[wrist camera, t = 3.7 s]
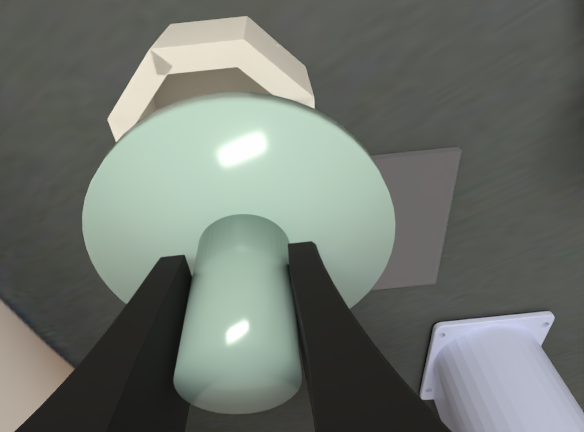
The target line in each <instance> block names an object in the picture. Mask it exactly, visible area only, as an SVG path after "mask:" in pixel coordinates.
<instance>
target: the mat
mask: <svg viewBox="0 0 584 432" xmlns="http://www.w3.org/2000/svg"><path fill="white" fill-rule="evenodd" d="M461 151H462V150H461V149H460V148H459V147H449V148H440V149H430V150H420V151H411V152H401V153H391V154H382V155H372V156H371V157H372V158H373V160H374V161H375V163H376V165H377V167H378V169H379V171H380V174H381V176H382V178H383V180H384V182H385V184H386V186H387V189H388V191H389V193H390V197H391V200H392V204H393V207H394V214H395V224H396V225H395V239H394V244H393V248H392V252H391V255H390V258H389V260H388V263H387V265H386V267H385V269H384V271H383V273H382V274H381V276H380V278H379V279H378V281H377V282H376V283H375V285H374V286H373V287H372V288H371V290H380V289H390V288H400V287H409V286H419V285H429V284H436V279H437V274H438V269H439V264H440V259H441V254H442V249H443V244H444V238H445V233H446V228H447V223H448V218H449V213H450V208H451V202H452V197H453V192H454V187H455V182H456V177H457V172H458V167H459V161H460V156H461ZM371 290H370V291H371Z"/></svg>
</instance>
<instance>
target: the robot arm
mask: <svg viewBox="0 0 584 432" xmlns="http://www.w3.org/2000/svg"><path fill="white" fill-rule="evenodd" d="M288 256H289V268H290V276H291V284H292V292H293V298H294V304H295V310H296V316H297V326H298V336H299V344H300V349H301V355H302V360H303V365H304V371H305V376H306V381H307V386H308V392H309V397H310V402H311V407H312V413H313V418H314V425H315V431H316V432H584V412H583V411H582V409H581V408H580V406H579V405H578V403H577V402H576V400H575V399H574V397H573V395H572V394H571V392H570V391H569V389H568V388H567V386H566V385H565V383H564V382H563V380H562V378H561V377H560V375H559V374H558V372H557V371H556V369H555V368H554V366H553V365H552V363H551V361H550V360H549V358H548V357H547V355H546V354H545V352H544V351H543V349H542V348H541V345H542V343H543V341H544V339H545V337H546V335H547V333H548V331H549V329H550V327H551V325H552V323H553V321H554V318H555V317H554V315H553V314H552V313H551V312H550V311H542V312H533V313H523V314H513V315H503V316H494V317H484V318H474V319H464V320H455V321H445V322H439V323H437V324H435V325H434V327H433V331H432V336H431V341H430V346H429V350H428V355H427V360H426V365H425V369H424V374H423V379H422V384H421V388H420V393H419V394H420V397H421V399H423V400H430V399H434V402H435V404H436V407H437V410H438V413H439V416H440V419H441V420H440V419H439V418H438V417H437V416H436V415H435V413H434V412H433V411H432V410H431V409H430V408H429V407H428V406H427V405H426V404H425V403H424V402H423V401H422V400H421V399H420V398H419V397H418V396H417V395H416V394H415V393H414V391H413V390H412V389H411V388H410V387H409V386H408V385H407V383H406V382H405V381H404V380H403V379H402V378H401V377H400V375H399V374H398V373H397V372H396V371H395V370H394V368H393V367H392V366H391V365H390V363H389V362H388V361H387V360H386V359H385V357H384V356H383V355H382V354H381V352H380V351H379V350H378V348H377V347H376V346H375V345H374V343H373V342H372V341H371V339H370V338H369V337H368V335H367V334H366V332H365V331H364V330H363V328H362V327H361V325H360V324H359V323H358V321H357V320H356V318H355V317H354V315H353V314H352V312H351V311H350V309H349V308H348V306H347V304H346V303H345V301H344V300H343V298H342V296H341V295H340V293H339V291H338V290H337V288H336V286H335V285H334V283H333V281H332V279H331V277H330V275H329V274H328V272H327V270H326V268H325V266H324V264H323V261H322V259H321V257H320V254H319V252H318V249H317V246H316V244H315V243H313V242H312V241H308V242H299V243H289V244H288ZM191 281H192V275H191V272H190V269H189V266H188V263H187V260H186V257H185V255H176V256H166V257H161V258H160V259H159V260H158V261H157V263H156V264H155V265H154V267H153V268H152V270H151V271H150V272H149V274H148V275H147V277H146V278H145V279H144V281H143V282H142V284H141V285H140V287H139V288H138V289H137V291H136V292H135V294H134V295H133V296H132V298H131V299H130V300H129V302H128V303H127V305H126V306H125V307H124V309H123V310H122V311H121V313H120V314H119V315H118V317H117V318H116V319H115V320H114V322H113V323H112V324H111V326H110V327H109V328H108V330H107V331H106V332H105V334H104V335H103V336H102V337H101V338H100V340H99V341H98V342H97V343H96V344H95V346H94V347H93V348H92V349H91V351H90V352H89V353H88V354H87V355H86V357H85V358H84V359H83V360H82V361H81V363H80V364H79V365H78V366H77V367H76V368H75V370H74V371H73V372H72V373H71V374H70V375H69V376H68V377H67V379H66V380H65V381H64V382H63V383H62V384H61V385H60V386H59V387H58V388H57V390H56V391H55V392H54V393H53V394H52V395H51V396H50V397H49V398H48V399H47V400H46V401H45V402H44V403H43V404H42V405H41V406H40V408H38V409H37V410H36V411H35V412H34V413H33V414H32V415H31V416H30V417H29V418H28V419H27V420H26V421H25V422H24V423H23V424H22V425H21V426H20V427H19V428H18V429H17V430H16V431H15V432H185V427H186V422H187V416H188V411H189V405H190V403H189V402H187V401H186V400H184V399H183V398H182V397H181V396H180V395H179V394H178V392H177V391H176V389H175V386H174V380H173V378H174V373H175V368H176V362H177V357H178V351H179V346H180V341H181V335H182V330H183V324H184V319H185V313H186V308H187V303H188V297H189V292H190V286H191Z"/></svg>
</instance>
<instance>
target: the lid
mask: <svg viewBox="0 0 584 432" xmlns="http://www.w3.org/2000/svg"><path fill="white" fill-rule="evenodd" d="M82 222H83V235H84V240H85V245H86V248H87V251H88V254H89V256H90V259H91V261H92V263H93V265H94V267H95V268H96V270H97V272H98V274H99V275H100V277H101V278H102V279H103V281H104V282H105V283H106V284H107V286H108V287H109V288H110V289H111V290H112V291H113V292H114V293H115V294H116V295H117V296H118V297H119V298H120V299H121V300H122V301H123V302H125V303H126V304H127V303H128V302H129V300H130V299H131V298H132V296H133V295H134V294H135V292H136V291H137V289H138V288H139V287H140V285H141V284H142V282H143V281H144V279H145V278H146V277H147V275H148V274H149V272H150V271H151V270H152V268H153V267H154V265H155V264H156V263H157V261H158V260H159V259H160V258H161V257H166V256H176V255H185V257H186V260H187V263H188V266H189V269H190V272H191V275H192V281H191V286H190V292H189V297H188V303H187V308H186V313H185V319H184V324H183V330H182V335H181V341H180V346H179V351H178V357H177V362H176V368H175V373H174V378H173V380H174V386H175V389H176V391H177V392H178V394H179V395H180V396H181V397H182V398H183V399H184V400H186V401H187V402H189V403H190V404H192V405H194V406H196V407H199V408H201V409H204V410H208V411H212V412H216V413H224V414H248V413H255V412H261V411H265V410H268V409H271V408H274V407H276V406H279V405H281V404H283V403H284V402H286V401H288V400H289V399H290V398H292V397H293V396H294V395H295V394H296V393H297V391H298V390H299V388H300V386H301V383H302V369H301V358H300V347H299V336H298V326H297V316H296V310H295V304H294V298H293V292H292V284H291V276H290V268H289V256H288V244H289V243H299V242H308V241H312V242H313V243H315V244H316V246H317V249H318V252H319V254H320V257H321V259H322V261H323V264H324V266H325V268H326V270H327V272H328V274H329V275H330V277H331V279H332V281H333V283H334V285H335V286H336V288H337V290H338V291H339V293H340V295H341V296H342V298H343V300H344V301H345V303H346V304H347V306H348V308H349V309H350V308H351V307H353V306H354V305H355V304H356V303H358V302H359V301H360V300H361V299H362V298H363V297H364V296H365V295H366V294H367V293H368V292H369V291H370V290H371V288H372V287H373V286H374V285H375V283H376V282H377V281H378V279H379V278H380V276H381V274H382V273H383V271H384V269H385V267H386V265H387V263H388V260H389V258H390V255H391V252H392V248H393V244H394V239H395V225H396V224H395V214H394V207H393V204H392V200H391V197H390V193H389V191H388V189H387V186H386V184H385V182H384V180H383V178H382V176H381V174H380V171H379V169H378V167H377V165H376V163H375V161H374V160H373V158H372V157H371V155H370V154H369V153H368V151H367V150H366V148H365V147H364V146H363V145H362V144H361V142H360V141H359V140H358V139H357V138H356V137H355V136H354V135H353V134H352V133H351V132H350V131H348V130H347V129H346V128H345V127H343V126H342V125H341V124H339V123H338V122H337V121H336V120H334V119H332V118H331V117H329V116H327V115H325V114H324V113H322V112H320V111H318V110H317V109H314V108H312V107H309V106H307V105H305V104H302V103H300V102H297V101H294V100H291V99H287V98H283V97H279V96H275V95H270V94H262V93H255V92H219V93H211V94H204V95H198V96H195V97H191V98H187V99H184V100H180V101H177V102H175V103H172V104H170V105H167V106H165V107H163V108H160V109H158V110H156V111H155V112H153V113H151V114H150V115H148V116H146V117H145V118H143V119H141V120H140V121H138V122H137V123H136V124H135V125H134V126H132V127H131V128H130V129H129V130H128V131H127V132H125V133H124V134H123V135H122V136H121V137H120V139H119V140H118V141H117V142H116V143H115V145H114V146H113V147H112V148H111V149H110V151H109V153H108V154H107V156H106V157H105V159H104V160H103V162H102V164H101V165H100V167H99V169H98V170H97V172H96V174H95V175H94V177H93V179H92V181H91V183H90V186H89V188H88V191H87V194H86V197H85V201H84V207H83V214H82Z"/></svg>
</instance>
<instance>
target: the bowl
mask: <svg viewBox="0 0 584 432" xmlns="http://www.w3.org/2000/svg"><path fill="white" fill-rule="evenodd" d="M219 92H255V93H262V94H270V95H275V96H279V97H283V98H287V99H291V100H294V101H297V102H300V103H302V104H305V105H307V106H309V107H312V108H314V109H315V106H314V95H313V92H312V88H311V85H310V81H309V78H308V74H307V71H306V67H305V66H304V65H303V64H302V63H301V62H300V61H299V60H297V59H296V58H295V57H294V56H293V55H292V54H290V53H289V52H288V51H287V50H286V49H285V48H284V47H282V46H281V45H280V44H279V43H278V42H277V41H275V40H274V39H273V38H272V37H271V36H270V35H268V34H267V33H266V32H265V31H264V30H263V29H262V28H260V27H259V26H258V25H257V24H256V23H255V22H253V21H252V20H251V19H250V18H249V17H248V16H243V17H234V18H224V19H215V20H205V21H196V22H186V23H177V24H170V25H169V27H168V28H167V29H166V30H165V31H164V32H163V34H162V35H161V36H160V37H159V38H158V40H157V41H156V42H155V43H154V44H153V45H152V47H151V48H150V49H149V51H148V53H147V54H146V56H145V58H144V59H143V61H142V63H141V64H140V66H139V67H138V69H137V71H136V72H135V74H134V76H133V77H132V79H131V81H130V82H129V84H128V86H127V87H126V89H125V91H124V92H123V94H122V96H121V97H120V99H119V101H118V102H117V104H116V106H115V107H114V109H113V111H112V112H111V114H110V116H109V117H108V119H107V120H108V122H109V125H110V127H111V130H112V132H113V135H114V138H115V140H116V142H117V141H118V140H119V139H120V137H121V136H122V135H123V134H124V133H125V132H127V131H128V130H129V129H130V128H131V127H132V126H134V125H135V124H136V123H137V122H138V121H140V120H141V119H143V118H145V117H146V116H148V115H150V114H151V113H153V112H155V111H156V110H158V109H160V108H163V107H165V106H167V105H170V104H172V103H175V102H177V101H180V100H184V99H187V98H191V97H195V96H198V95H204V94H211V93H219Z"/></svg>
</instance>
